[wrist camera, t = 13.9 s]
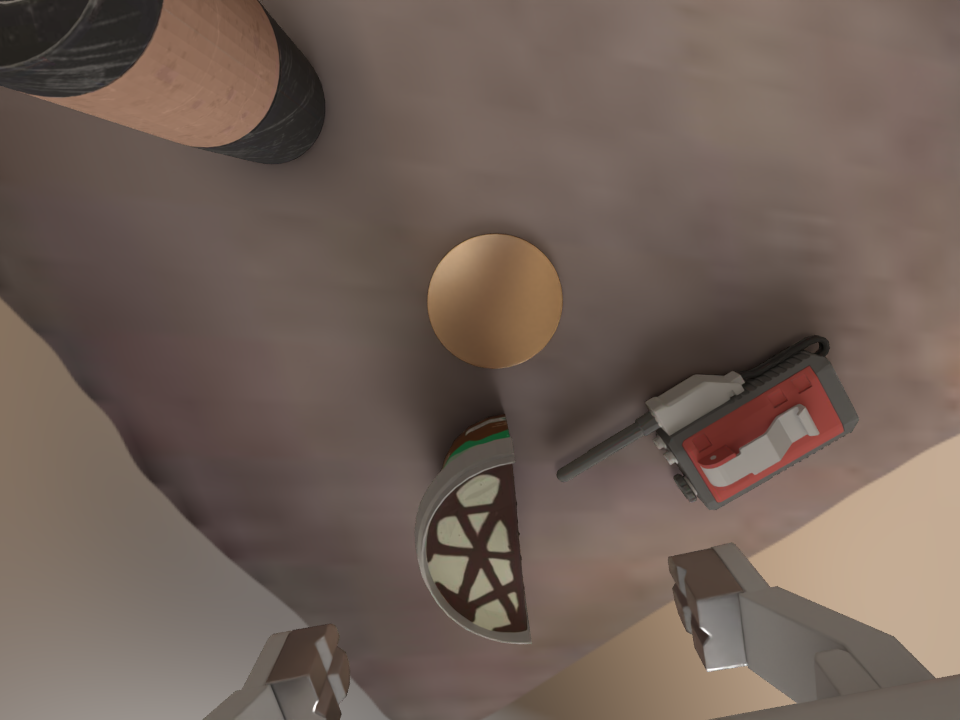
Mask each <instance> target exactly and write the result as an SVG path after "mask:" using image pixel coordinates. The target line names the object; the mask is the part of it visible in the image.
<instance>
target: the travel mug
mask: <svg viewBox="0 0 960 720" xmlns="http://www.w3.org/2000/svg"><path fill="white" fill-rule="evenodd" d="M0 86H4V87H7V88H10V89H13V90H16V91H19V92H22V93H25V94H28V95H31V96H35V97H38V98H41V99H44V100H47V101H50V102H53V103H56V104H59V105H62V106H65V107H69V108H72V109H75V110H78V111H81V112H84V113H87V114H90V115H93V116H96V117H99V118H103V119H106V120H109V121H112V122H115V123H118V124H121V125H124V126H127V127H130V128H133V129H137V130H140V131H143V132H146V133H149V134H152V135H155V136H158V137H161V138H164V139H167V140H171V141H174V142H177V143H180V144H183V145H187V146H191V147H195V148H199V149H203V150H207V151H211V152H215V153H220V154H224V155H228V156H232V157H236V158H240V159H244V160H248V161H253V162H258V163H264V164H279V163H284V162H288V161H291V160H293V159H296V158H297V157H299V156H301V155H302V154H303V153H305V152H306V151H307V150H308V149H309V148H310V147H311V146H312V145H313V143H314V142H315V140H316V139H317V137H318V135H319V133H320V131H321V128H322V125H323V120H324V114H325V100H324V94H323V90H322V86H321V83H320V81H319V78H318V76H317V74H316V72H315V71H314V69H313V67H312V66H311V64H310V63H309V62H308V60H307V59H306V58H305V56H304V55H303V54H302V53H301V51H300V50H299V49H298V48H297V47H296V45H295V44H294V43H293V42H292V41H291V39H290V38H289V37H288V36H287V35H286V33H285V32H284V31H283V30H282V29H281V27H280V26H279V25H278V24H277V23H276V21H275V20H274V19H273V18H272V17H271V15H270V14H269V13H268V12H267V11H266V9H265V8H264V7H263V6H262V5H261V3H260V2H259V1H258V0H0Z"/></svg>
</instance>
